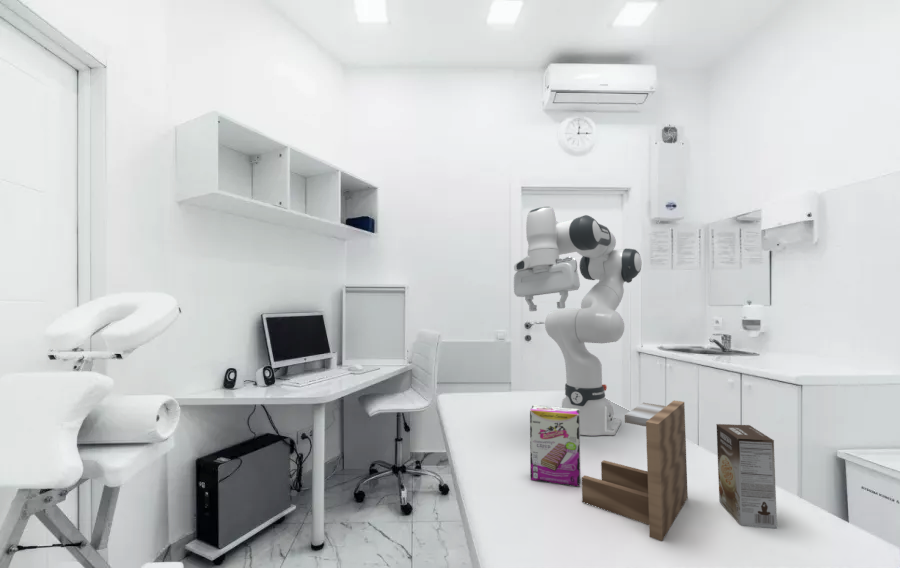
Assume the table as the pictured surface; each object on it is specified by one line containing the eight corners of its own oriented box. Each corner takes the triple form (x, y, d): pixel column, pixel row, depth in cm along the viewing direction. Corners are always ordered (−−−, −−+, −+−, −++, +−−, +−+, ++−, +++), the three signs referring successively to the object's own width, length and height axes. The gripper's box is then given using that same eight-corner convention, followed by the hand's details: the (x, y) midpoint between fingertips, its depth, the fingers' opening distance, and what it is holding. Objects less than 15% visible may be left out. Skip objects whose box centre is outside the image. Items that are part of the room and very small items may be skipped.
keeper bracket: (610, 476, 95) (608, 391, 96) (687, 498, 84) (684, 401, 85) (573, 509, 80) (571, 408, 81) (662, 541, 69) (658, 424, 70)
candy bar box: (530, 481, 93) (528, 409, 93) (532, 472, 97) (531, 404, 98) (580, 488, 89) (579, 413, 90) (581, 478, 94) (579, 407, 94)
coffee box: (717, 501, 82) (714, 422, 83) (752, 504, 81) (749, 424, 82) (740, 526, 73) (736, 437, 74) (780, 529, 72) (776, 439, 73)
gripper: (582, 256, 109) (586, 307, 107) (522, 268, 125) (525, 312, 122) (569, 253, 105) (573, 306, 103) (509, 266, 120) (511, 312, 118)
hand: (546, 309), depth 113 cm, fingers open, 8 cm apart
